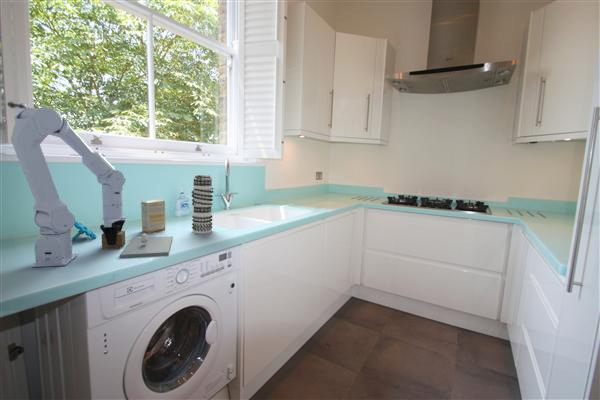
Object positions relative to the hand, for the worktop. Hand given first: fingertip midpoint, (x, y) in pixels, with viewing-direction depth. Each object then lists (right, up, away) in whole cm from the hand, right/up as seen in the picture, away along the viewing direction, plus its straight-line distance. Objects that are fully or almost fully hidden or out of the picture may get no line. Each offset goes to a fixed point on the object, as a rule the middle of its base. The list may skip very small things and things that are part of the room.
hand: (113, 242), depth 102 cm
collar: (0, -1, 0) cm, 1 cm away
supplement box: (+2, +2, +24) cm, 24 cm away
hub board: (+12, -2, +1) cm, 12 cm away
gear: (-16, 0, +7) cm, 17 cm away
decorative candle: (+22, +1, +27) cm, 35 cm away
